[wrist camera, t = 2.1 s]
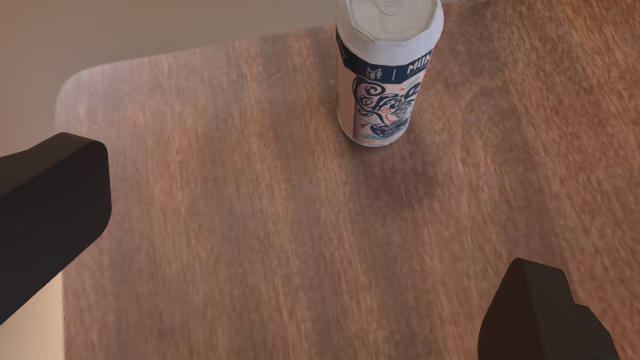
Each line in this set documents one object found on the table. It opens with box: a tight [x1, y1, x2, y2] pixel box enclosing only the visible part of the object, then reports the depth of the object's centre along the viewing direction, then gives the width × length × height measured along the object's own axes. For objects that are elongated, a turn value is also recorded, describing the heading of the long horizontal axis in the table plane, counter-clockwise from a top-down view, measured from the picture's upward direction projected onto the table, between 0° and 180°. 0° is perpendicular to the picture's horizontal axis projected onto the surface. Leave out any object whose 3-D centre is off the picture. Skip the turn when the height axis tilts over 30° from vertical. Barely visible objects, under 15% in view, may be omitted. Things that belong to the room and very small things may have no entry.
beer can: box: [336, 0, 444, 147], centre depth 26 cm, size 5×5×12 cm
